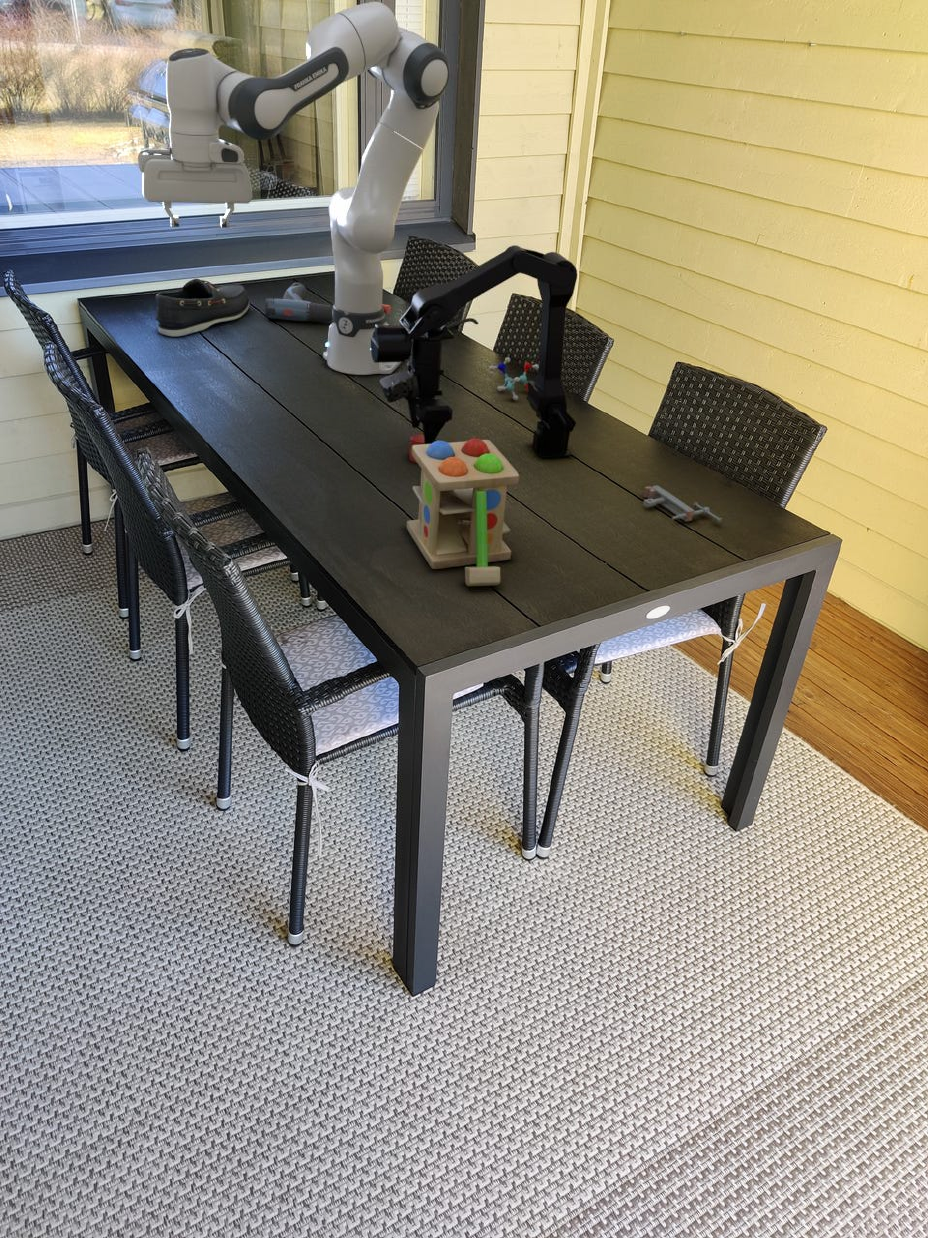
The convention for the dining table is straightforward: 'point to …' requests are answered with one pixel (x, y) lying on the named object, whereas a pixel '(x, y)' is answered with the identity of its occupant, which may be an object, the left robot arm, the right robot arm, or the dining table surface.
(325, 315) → the power drill
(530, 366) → the molecular model
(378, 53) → the left robot arm
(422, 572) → the dining table surface
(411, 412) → the right robot arm
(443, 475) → the pounding bench toy
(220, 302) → the boat shoe
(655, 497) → the clamp
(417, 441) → the can
